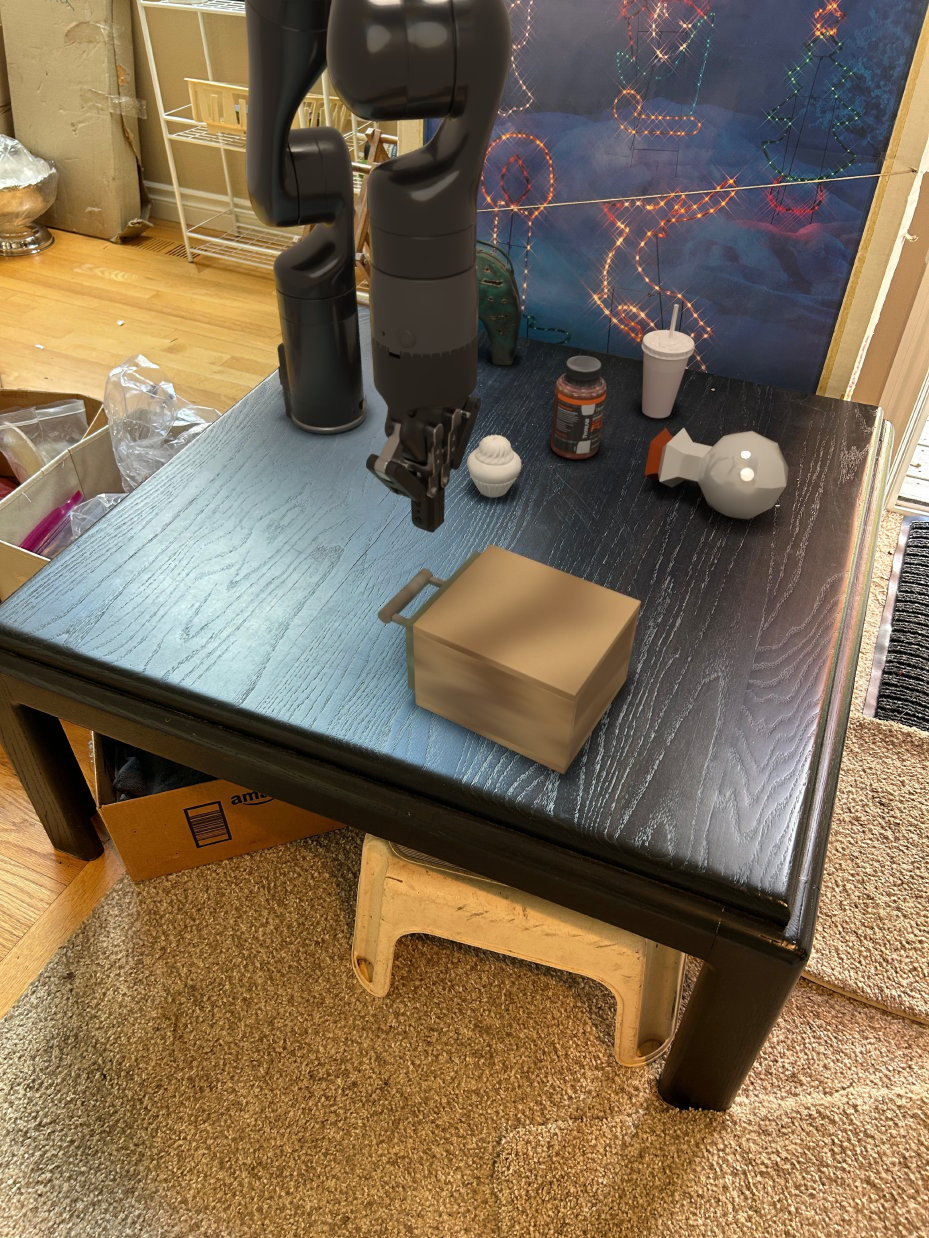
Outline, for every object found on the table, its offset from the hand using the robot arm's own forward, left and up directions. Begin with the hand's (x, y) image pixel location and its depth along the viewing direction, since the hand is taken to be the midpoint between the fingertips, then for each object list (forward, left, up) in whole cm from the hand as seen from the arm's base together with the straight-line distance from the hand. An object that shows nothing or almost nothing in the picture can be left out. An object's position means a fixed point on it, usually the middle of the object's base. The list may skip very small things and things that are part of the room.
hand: (428, 525), depth 74 cm
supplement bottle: (-4, +39, -15) cm, 42 cm away
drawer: (+6, 0, -14) cm, 15 cm away
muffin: (-8, +26, -15) cm, 31 cm away
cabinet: (+10, 0, -15) cm, 18 cm away
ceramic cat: (-30, +52, -15) cm, 62 cm away
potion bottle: (+14, +37, -15) cm, 42 cm away
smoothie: (+1, +53, -15) cm, 55 cm away
